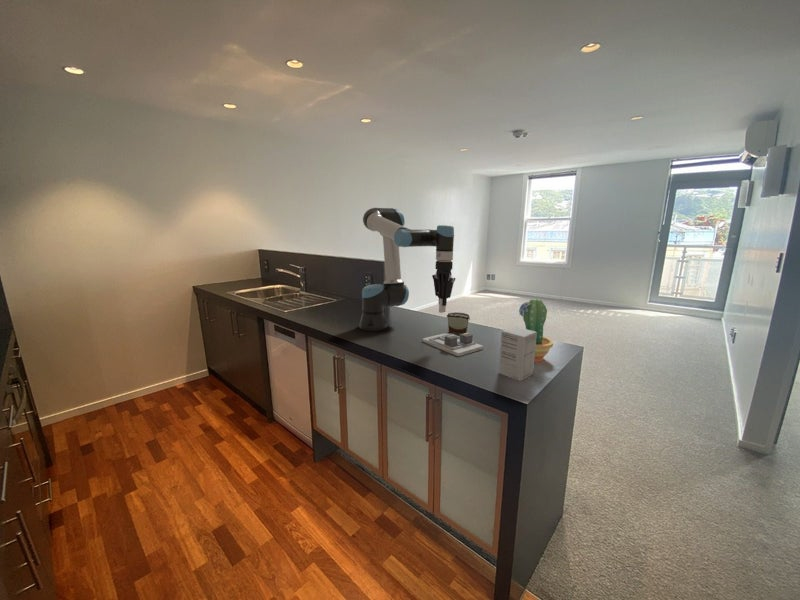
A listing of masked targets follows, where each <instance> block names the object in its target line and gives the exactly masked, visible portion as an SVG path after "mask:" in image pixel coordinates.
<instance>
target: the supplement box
mask: <svg viewBox="0 0 800 600" xmlns="http://www.w3.org/2000/svg"><path fill="white" fill-rule="evenodd" d="M500 335H501V336H500V338H501V339H500V349H499V350H500V352H499V364H498V365H499V367H498V368H499V369H498V374H500V375H502V376H506V377H508V378H511V379H513V380H517V381H519V382H521V381H524V380H525V379H527V378H529V377H531V376H532V375H534V369H535V368H534V367H535V362H534V359H535V348H536V337H537V332H535V331H531V330H527V329H526V328H523V327H519V326H513V327H510V328H507V329H504V330H502V331H501V334H500Z"/></svg>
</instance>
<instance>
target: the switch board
mask: <svg viewBox="0 0 800 600" xmlns="http://www.w3.org/2000/svg"><path fill="white" fill-rule="evenodd" d="M449 335H455V337H457V346H454V347H451V346H448V345H446V344H444V341H445V336H449ZM422 343H425V344H428V345H430V346H432V347H435V348H437V349H439V350H442V351H444V352H446V353H449V354H451V355H454V356H456V357H462V356H465V355H468V354H472V353H474V352H477V351H482V350H484V345H482V344H478V343H476V341H473V340H472V343H468V344H464V343H462V342H460V335H456V334H455V333H449V332H445V333H440V334H436V335H431V336H427V337H424V338H422Z"/></svg>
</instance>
